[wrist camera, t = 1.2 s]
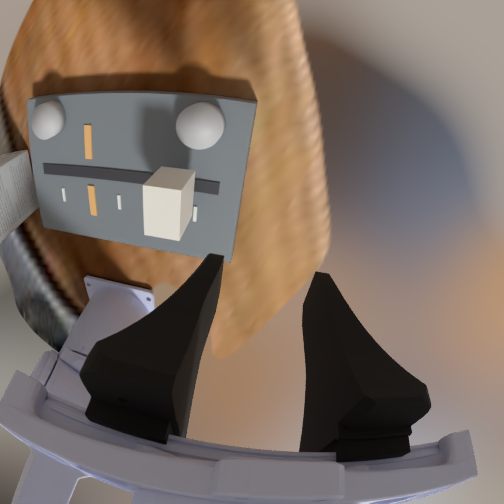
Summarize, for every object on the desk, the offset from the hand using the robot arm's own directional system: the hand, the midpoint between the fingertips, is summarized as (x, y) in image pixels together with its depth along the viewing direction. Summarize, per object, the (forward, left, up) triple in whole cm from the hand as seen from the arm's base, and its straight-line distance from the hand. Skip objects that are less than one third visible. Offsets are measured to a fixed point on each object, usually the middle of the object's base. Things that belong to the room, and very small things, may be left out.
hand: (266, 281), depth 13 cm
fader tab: (0, +6, -8) cm, 10 cm away
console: (0, +11, -10) cm, 15 cm away
